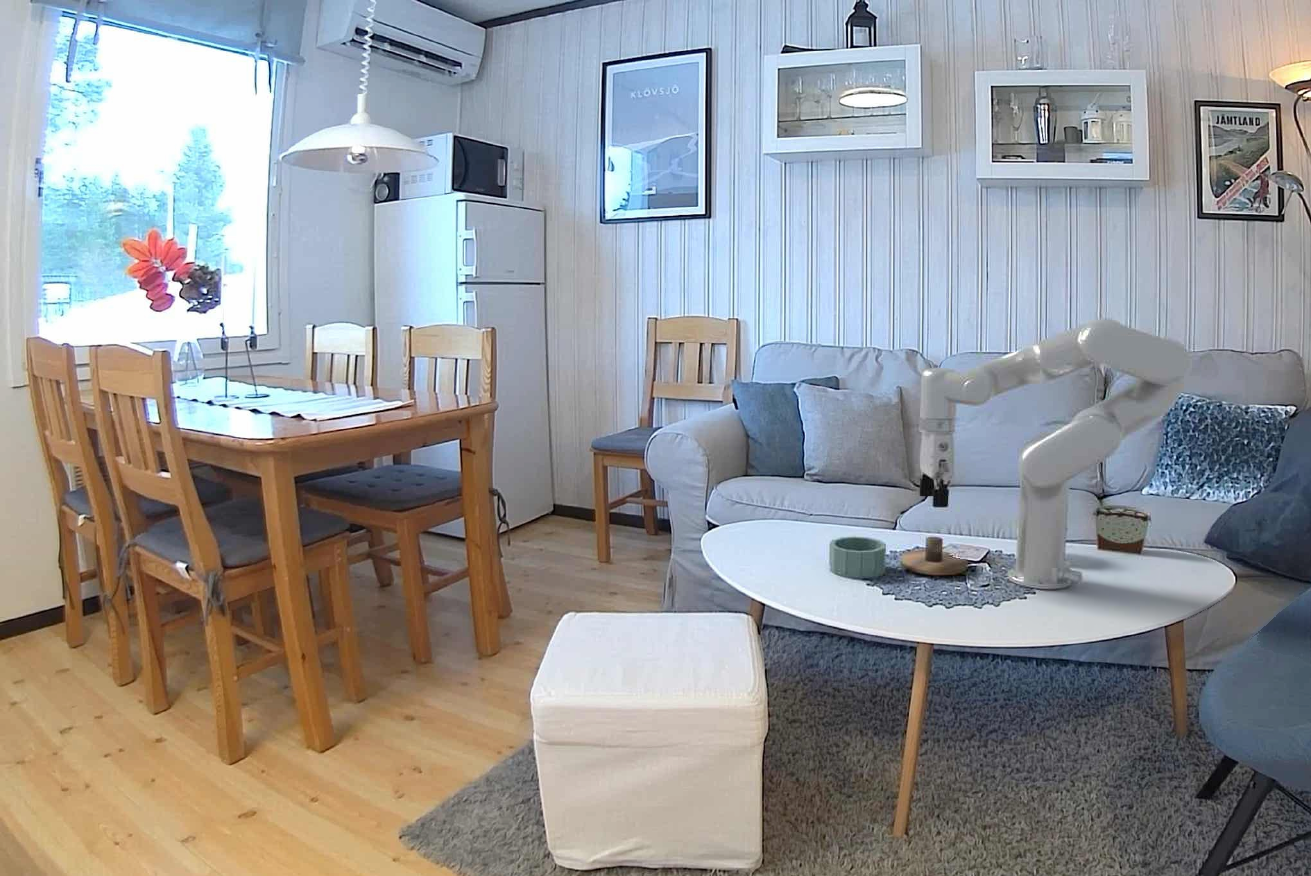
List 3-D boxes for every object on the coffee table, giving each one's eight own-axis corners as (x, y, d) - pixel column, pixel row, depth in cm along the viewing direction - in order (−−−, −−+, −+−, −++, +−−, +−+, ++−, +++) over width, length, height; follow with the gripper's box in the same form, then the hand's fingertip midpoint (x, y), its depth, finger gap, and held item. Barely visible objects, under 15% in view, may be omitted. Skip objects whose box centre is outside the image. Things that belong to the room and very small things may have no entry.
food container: (1151, 549, 215) (1154, 508, 214) (1149, 556, 210) (1152, 514, 209) (1094, 542, 222) (1096, 502, 220) (1090, 549, 217) (1092, 508, 215)
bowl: (895, 570, 204) (896, 544, 203) (862, 582, 197) (863, 555, 196) (852, 558, 213) (852, 533, 212) (818, 569, 206) (819, 544, 205)
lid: (979, 569, 204) (981, 539, 203) (943, 584, 195) (944, 552, 194) (923, 555, 215) (924, 526, 214) (887, 568, 206) (887, 538, 205)
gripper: (968, 431, 191) (963, 511, 194) (942, 418, 208) (938, 492, 211) (932, 432, 191) (928, 511, 194) (909, 418, 208) (905, 492, 211)
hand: (933, 501), depth 202 cm, fingers open, 9 cm apart
